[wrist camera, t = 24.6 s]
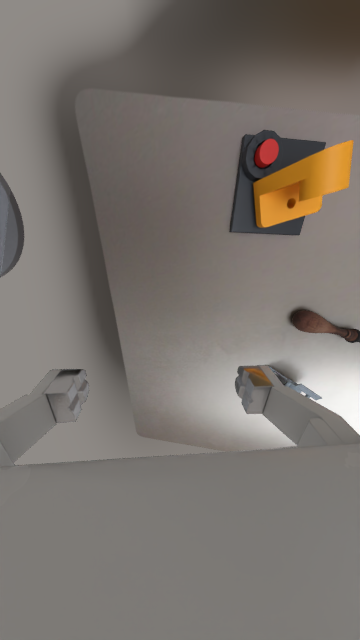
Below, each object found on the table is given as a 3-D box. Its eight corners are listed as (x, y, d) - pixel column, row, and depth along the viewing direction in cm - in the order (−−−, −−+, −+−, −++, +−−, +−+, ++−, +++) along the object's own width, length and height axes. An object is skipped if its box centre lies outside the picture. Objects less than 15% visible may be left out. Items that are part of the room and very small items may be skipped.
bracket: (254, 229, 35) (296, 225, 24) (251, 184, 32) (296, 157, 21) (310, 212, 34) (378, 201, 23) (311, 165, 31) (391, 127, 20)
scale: (229, 231, 36) (234, 231, 33) (242, 137, 30) (250, 127, 27) (295, 235, 37) (306, 235, 34) (320, 145, 31) (335, 136, 28)
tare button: (252, 167, 29) (257, 163, 28) (256, 143, 28) (262, 137, 27) (270, 168, 30) (275, 164, 28) (274, 144, 28) (281, 139, 27)
